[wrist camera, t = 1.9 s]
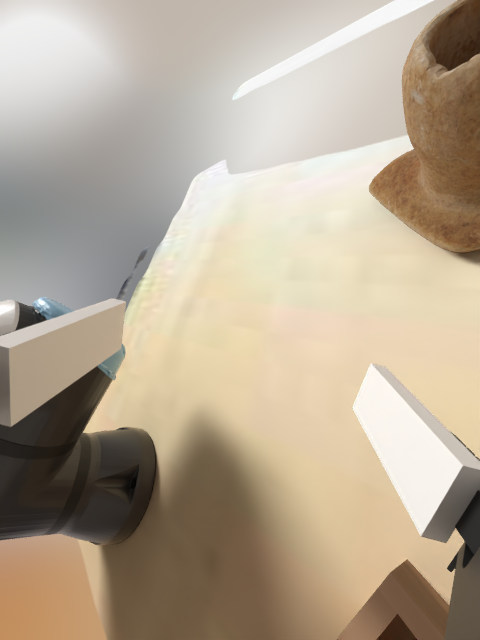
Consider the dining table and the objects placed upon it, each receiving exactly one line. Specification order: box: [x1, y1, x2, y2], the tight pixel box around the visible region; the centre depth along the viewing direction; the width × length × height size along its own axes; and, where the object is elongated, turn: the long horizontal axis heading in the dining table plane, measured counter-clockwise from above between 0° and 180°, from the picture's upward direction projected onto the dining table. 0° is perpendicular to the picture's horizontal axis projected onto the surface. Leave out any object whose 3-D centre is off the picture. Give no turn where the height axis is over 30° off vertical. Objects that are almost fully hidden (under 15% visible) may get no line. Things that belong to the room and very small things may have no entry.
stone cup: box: [369, 0, 480, 252], centre depth 22 cm, size 15×12×15 cm
